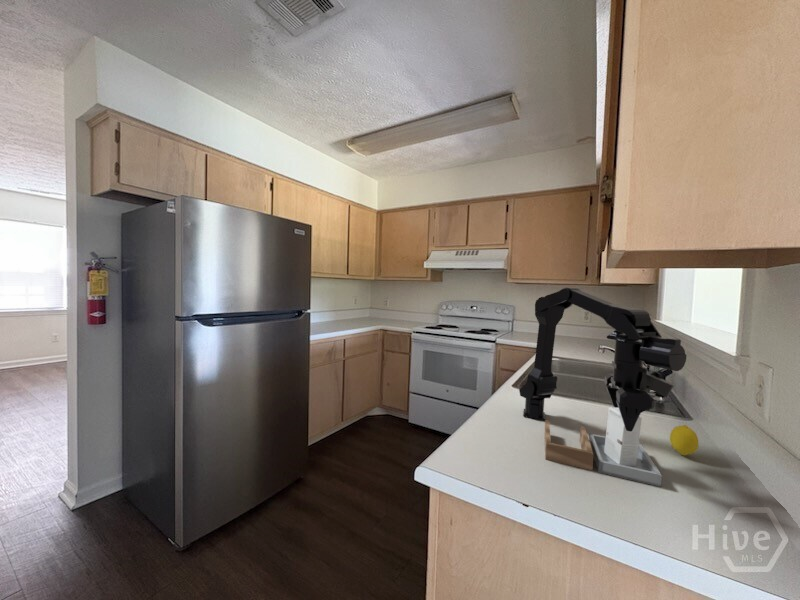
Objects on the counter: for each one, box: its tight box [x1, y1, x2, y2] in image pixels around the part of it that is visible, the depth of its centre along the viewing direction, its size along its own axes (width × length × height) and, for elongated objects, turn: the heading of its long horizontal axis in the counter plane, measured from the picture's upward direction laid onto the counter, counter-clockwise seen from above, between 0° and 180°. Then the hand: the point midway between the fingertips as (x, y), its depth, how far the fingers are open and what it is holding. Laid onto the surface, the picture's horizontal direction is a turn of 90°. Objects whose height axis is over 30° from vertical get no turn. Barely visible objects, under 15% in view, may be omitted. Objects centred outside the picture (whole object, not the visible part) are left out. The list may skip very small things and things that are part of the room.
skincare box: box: [604, 406, 643, 466], centre depth 78 cm, size 6×4×12 cm
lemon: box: [669, 424, 699, 457], centre depth 82 cm, size 6×6×8 cm
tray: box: [588, 433, 663, 488], centre depth 78 cm, size 16×12×3 cm
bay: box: [543, 419, 594, 471], centre depth 83 cm, size 16×10×4 cm, turn 156°
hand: (624, 423), depth 77 cm, fingers open, 9 cm apart
